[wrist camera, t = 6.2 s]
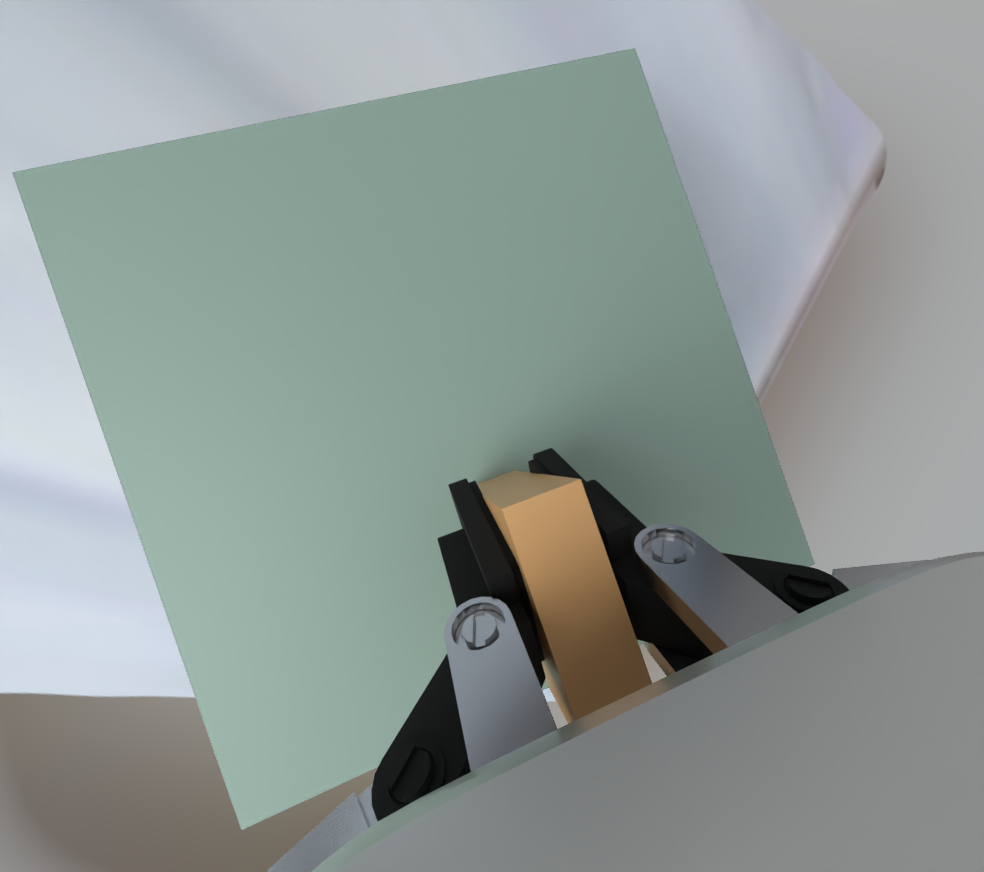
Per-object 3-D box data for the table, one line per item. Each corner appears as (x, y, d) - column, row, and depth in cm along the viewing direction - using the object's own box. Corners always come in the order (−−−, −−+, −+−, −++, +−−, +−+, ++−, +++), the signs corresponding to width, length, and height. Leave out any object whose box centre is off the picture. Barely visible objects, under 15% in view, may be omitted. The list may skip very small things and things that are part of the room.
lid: (31, 185, 13) (-393, -107, 6) (627, 63, 16) (765, -211, 9) (250, 812, 13) (60, 1191, 6) (800, 560, 16) (1059, 630, 9)
